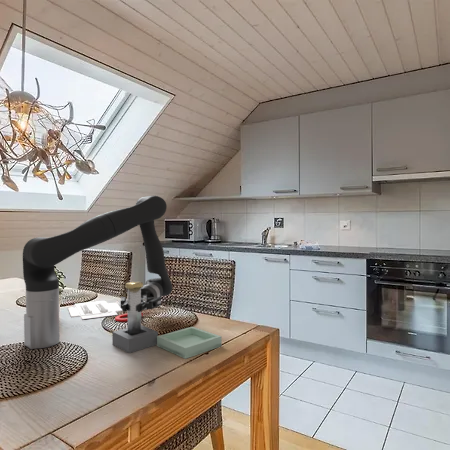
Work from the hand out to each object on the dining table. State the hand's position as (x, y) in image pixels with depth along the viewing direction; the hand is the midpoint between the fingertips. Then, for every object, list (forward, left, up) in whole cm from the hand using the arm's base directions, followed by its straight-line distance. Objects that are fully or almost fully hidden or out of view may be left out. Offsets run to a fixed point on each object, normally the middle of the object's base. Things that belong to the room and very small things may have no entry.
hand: (131, 308), depth 109 cm
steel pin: (+2, +2, -10) cm, 10 cm away
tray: (+13, -11, -12) cm, 21 cm away
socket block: (+2, +2, -12) cm, 12 cm away
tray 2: (+12, +51, -13) cm, 54 cm away
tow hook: (+15, +29, -12) cm, 35 cm away
